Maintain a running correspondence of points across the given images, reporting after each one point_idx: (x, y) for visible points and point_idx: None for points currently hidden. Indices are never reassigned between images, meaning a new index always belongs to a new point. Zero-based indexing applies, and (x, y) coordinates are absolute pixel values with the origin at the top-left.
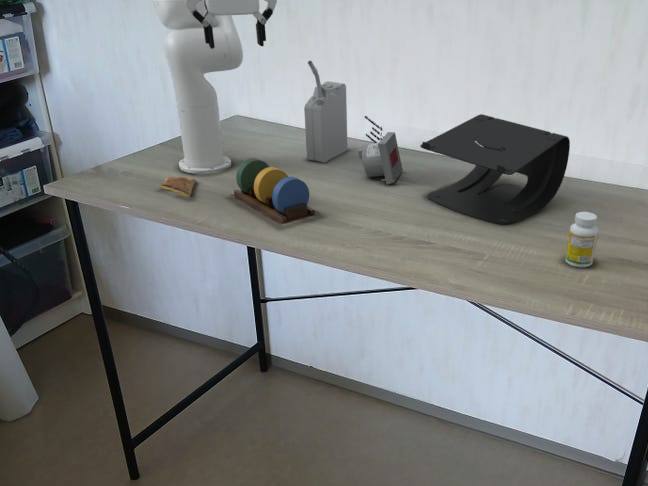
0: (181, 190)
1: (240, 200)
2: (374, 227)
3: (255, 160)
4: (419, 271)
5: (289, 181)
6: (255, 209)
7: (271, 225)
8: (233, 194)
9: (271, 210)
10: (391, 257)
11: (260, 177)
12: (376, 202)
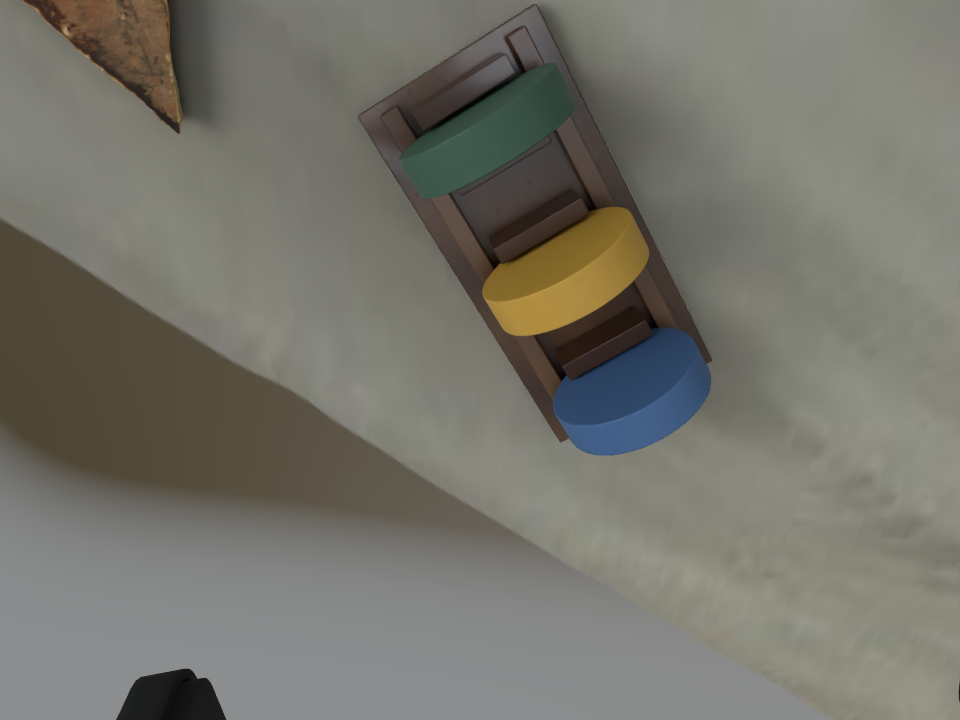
0: (124, 75)
1: (412, 195)
2: (861, 449)
3: (509, 161)
4: (876, 698)
5: (645, 445)
6: (476, 299)
7: (528, 409)
8: (377, 116)
9: (539, 364)
10: (837, 631)
11: (523, 326)
12: (952, 228)
